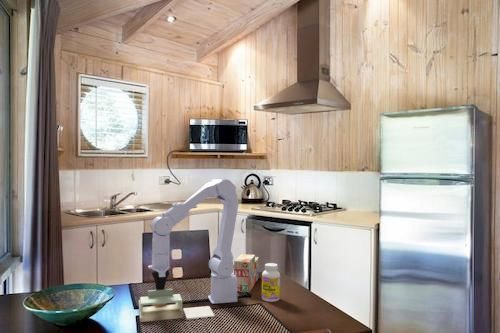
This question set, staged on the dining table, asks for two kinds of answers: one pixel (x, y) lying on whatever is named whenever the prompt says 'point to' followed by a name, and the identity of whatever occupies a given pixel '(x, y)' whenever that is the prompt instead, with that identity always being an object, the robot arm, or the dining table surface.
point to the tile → (198, 312)
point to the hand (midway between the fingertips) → (160, 292)
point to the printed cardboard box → (246, 271)
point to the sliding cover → (160, 298)
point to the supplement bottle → (271, 283)
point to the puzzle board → (160, 312)
